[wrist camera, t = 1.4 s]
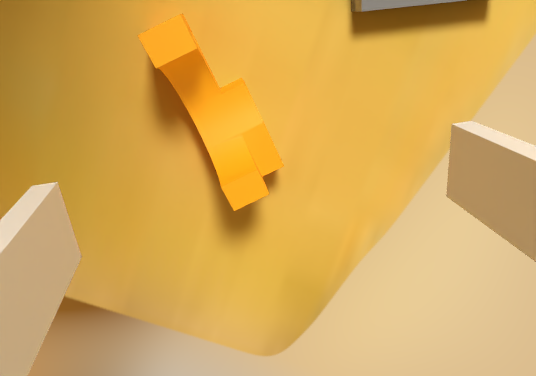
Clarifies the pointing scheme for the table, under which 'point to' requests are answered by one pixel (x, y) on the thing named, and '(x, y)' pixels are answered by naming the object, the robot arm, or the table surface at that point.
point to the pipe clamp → (216, 112)
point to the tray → (390, 4)
